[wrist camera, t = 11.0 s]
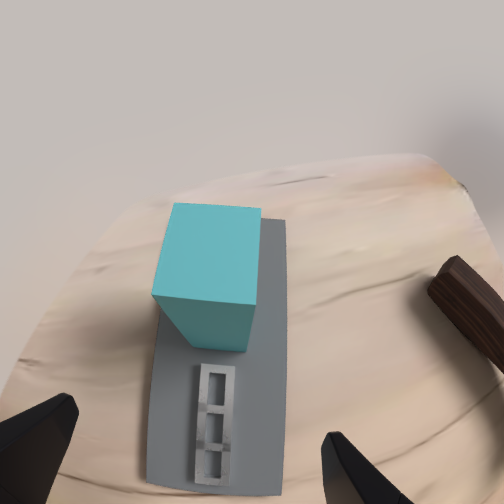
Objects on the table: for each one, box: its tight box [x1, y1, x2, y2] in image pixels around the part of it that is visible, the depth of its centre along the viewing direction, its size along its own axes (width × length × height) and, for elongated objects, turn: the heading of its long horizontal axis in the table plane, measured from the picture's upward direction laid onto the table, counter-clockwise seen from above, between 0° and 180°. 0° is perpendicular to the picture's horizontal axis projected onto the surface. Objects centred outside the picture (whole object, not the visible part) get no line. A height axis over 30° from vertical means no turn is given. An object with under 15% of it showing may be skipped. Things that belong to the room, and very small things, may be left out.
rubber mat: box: [146, 218, 287, 496], centre depth 20 cm, size 24×10×1 cm, turn 178°
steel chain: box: [195, 363, 235, 486], centre depth 20 cm, size 23×2×1 cm, turn 178°
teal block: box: [151, 203, 261, 352], centre depth 16 cm, size 4×4×11 cm
